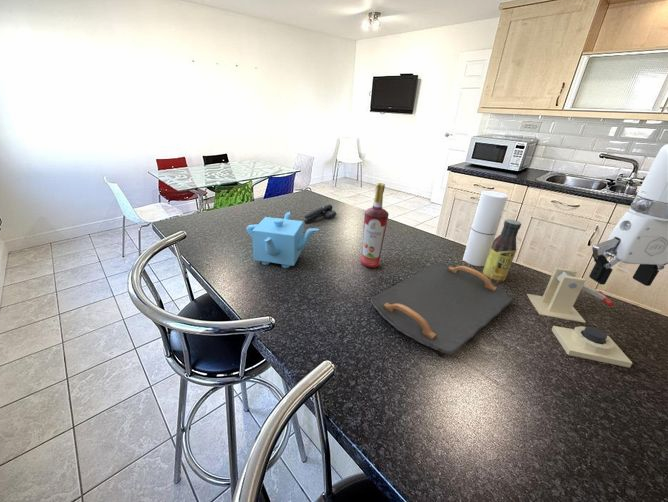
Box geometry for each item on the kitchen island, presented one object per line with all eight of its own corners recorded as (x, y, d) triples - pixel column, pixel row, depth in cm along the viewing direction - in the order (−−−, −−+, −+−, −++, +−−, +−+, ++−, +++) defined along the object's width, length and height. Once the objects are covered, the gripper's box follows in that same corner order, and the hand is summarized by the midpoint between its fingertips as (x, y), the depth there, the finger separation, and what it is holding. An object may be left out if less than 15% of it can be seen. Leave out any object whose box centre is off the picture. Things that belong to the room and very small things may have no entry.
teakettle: (244, 253, 104) (241, 215, 98) (290, 242, 113) (290, 206, 107) (267, 280, 90) (266, 237, 84) (318, 264, 99) (319, 224, 93)
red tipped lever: (597, 297, 77) (604, 290, 76) (609, 309, 73) (617, 302, 72) (553, 275, 78) (561, 268, 77) (563, 285, 74) (570, 278, 73)
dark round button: (597, 334, 67) (601, 328, 66) (607, 346, 64) (611, 340, 63) (578, 330, 68) (581, 324, 67) (587, 342, 64) (591, 336, 64)
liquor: (357, 268, 97) (366, 186, 86) (360, 257, 104) (369, 180, 92) (380, 272, 95) (392, 188, 84) (381, 261, 102) (393, 182, 90)
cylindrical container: (457, 259, 104) (476, 191, 94) (473, 256, 106) (493, 189, 96) (474, 269, 98) (495, 198, 88) (490, 266, 100) (513, 196, 90)
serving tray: (439, 266, 99) (443, 250, 96) (517, 303, 82) (524, 284, 80) (360, 310, 78) (362, 291, 75) (442, 371, 61) (449, 349, 58)
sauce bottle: (492, 286, 89) (513, 227, 81) (476, 275, 95) (494, 218, 86) (509, 283, 91) (531, 225, 83) (492, 273, 96) (511, 216, 88)
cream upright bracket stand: (566, 304, 82) (583, 268, 77) (584, 325, 74) (604, 287, 70) (525, 297, 85) (539, 261, 80) (538, 317, 77) (555, 279, 72)
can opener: (327, 212, 143) (328, 201, 141) (337, 216, 138) (338, 205, 136) (299, 221, 133) (299, 209, 131) (309, 226, 128) (309, 214, 126)
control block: (604, 343, 69) (612, 330, 68) (627, 370, 62) (637, 356, 60) (550, 332, 72) (556, 319, 70) (566, 357, 65) (573, 344, 63)
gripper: (635, 214, 54) (594, 290, 61) (728, 216, 54) (677, 293, 61) (597, 200, 61) (565, 271, 68) (680, 203, 61) (639, 273, 68)
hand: (618, 281), depth 64 cm, fingers open, 9 cm apart
